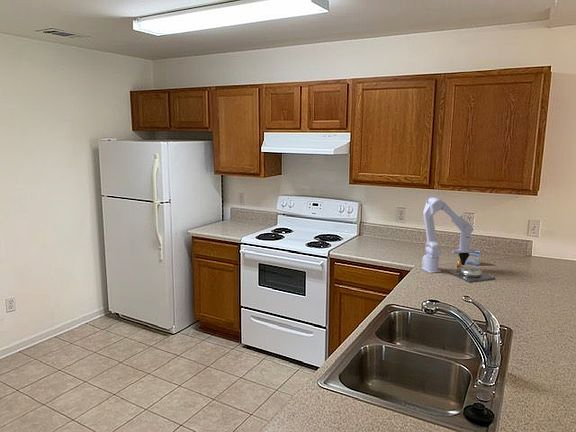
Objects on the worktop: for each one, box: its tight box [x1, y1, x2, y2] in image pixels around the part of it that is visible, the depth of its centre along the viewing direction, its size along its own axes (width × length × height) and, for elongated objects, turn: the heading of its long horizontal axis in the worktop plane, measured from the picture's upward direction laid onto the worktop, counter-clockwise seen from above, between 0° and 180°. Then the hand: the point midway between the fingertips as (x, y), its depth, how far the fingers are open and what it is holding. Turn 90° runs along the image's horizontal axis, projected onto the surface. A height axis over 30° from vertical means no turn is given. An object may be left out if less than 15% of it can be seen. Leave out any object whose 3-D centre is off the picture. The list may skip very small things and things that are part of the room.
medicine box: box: [465, 250, 482, 266], centre depth 278 cm, size 8×4×9 cm, turn 62°
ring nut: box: [456, 260, 482, 277], centre depth 258 cm, size 18×11×4 cm, turn 16°
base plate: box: [447, 269, 496, 284], centre depth 255 cm, size 18×18×1 cm
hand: (462, 264), depth 265 cm, fingers closed
